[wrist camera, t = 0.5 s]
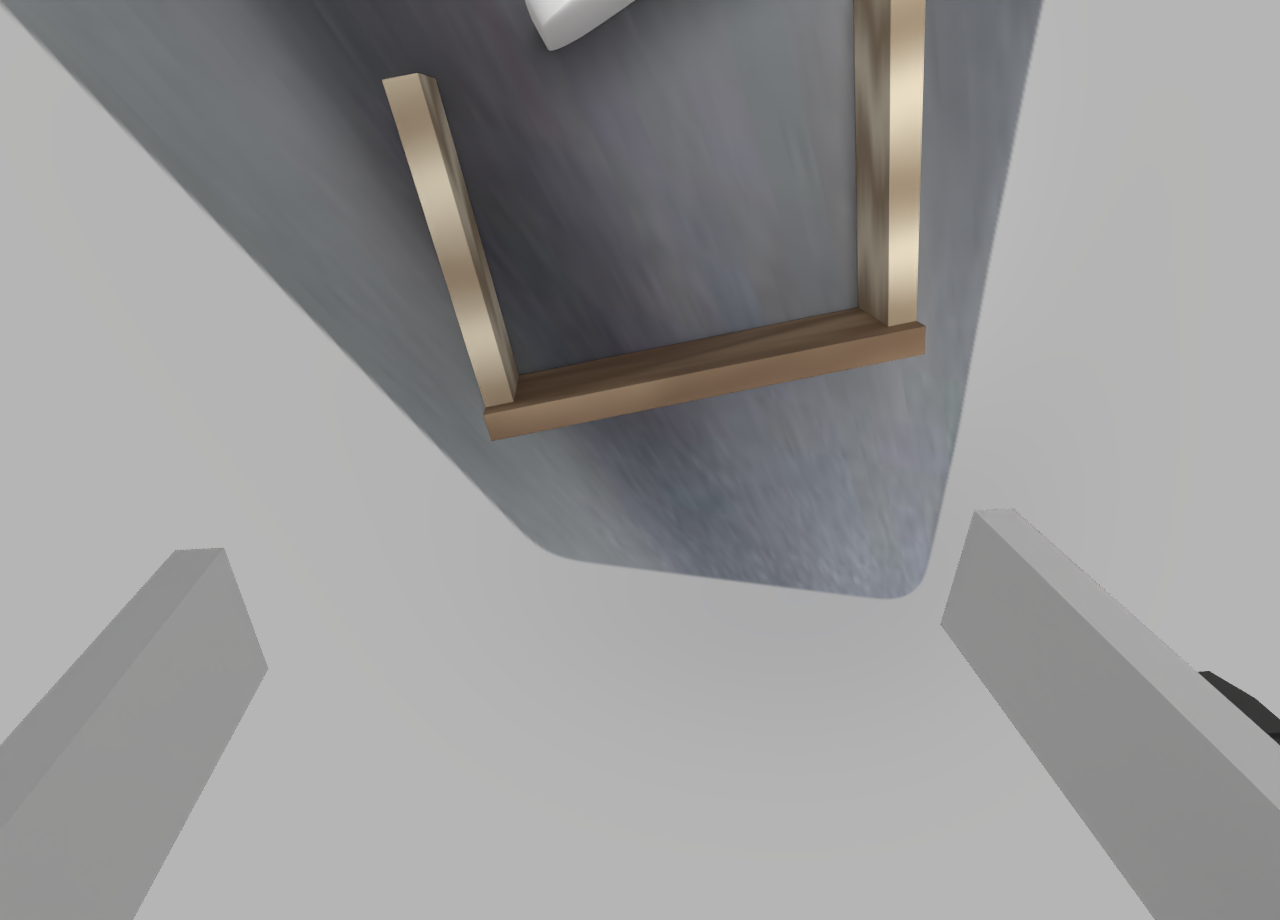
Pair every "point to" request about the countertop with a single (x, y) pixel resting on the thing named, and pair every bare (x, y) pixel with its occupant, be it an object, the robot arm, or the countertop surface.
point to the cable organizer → (570, 18)
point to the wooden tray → (725, 361)
